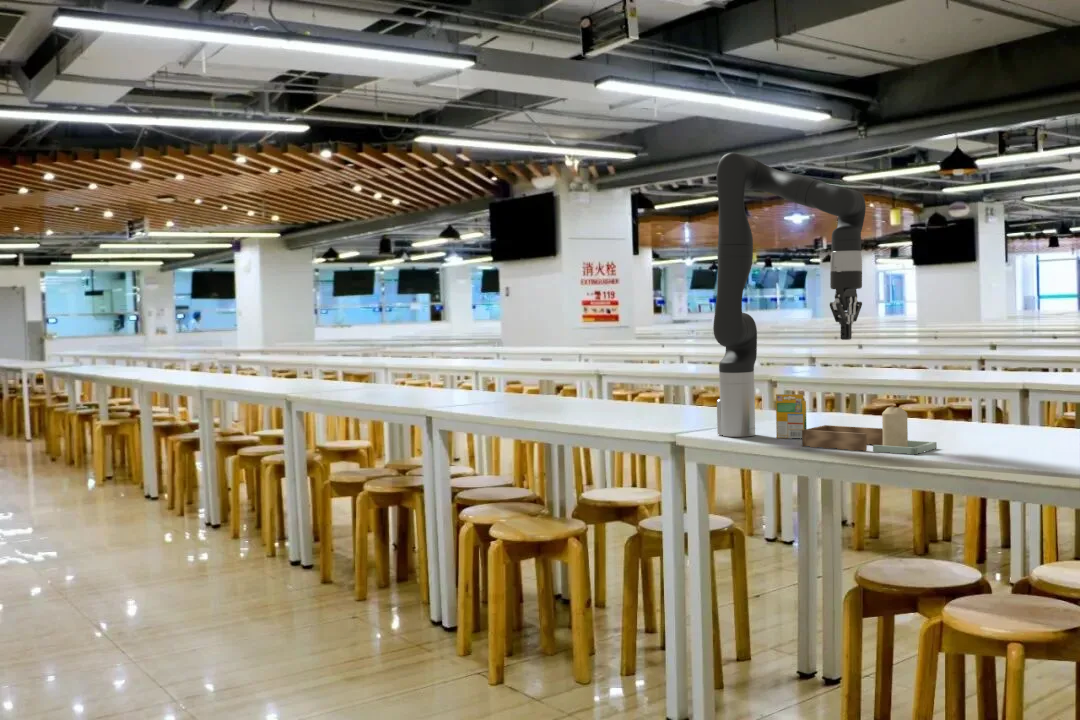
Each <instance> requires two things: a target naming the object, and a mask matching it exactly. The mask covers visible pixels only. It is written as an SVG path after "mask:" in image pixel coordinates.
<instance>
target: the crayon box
mask: <svg viewBox="0 0 1080 720" xmlns="http://www.w3.org/2000/svg"><path fill="white" fill-rule="evenodd" d="M788 397H791V398H793V399H788ZM794 398H795V399H794ZM775 420H776V421H775V422H776V429H775V430H776V439H792V438H800V440H802V439H801V438H802V430H805V429H808V428H807V401H806V400H804V394H798V393H797V394H796V393H795V394H794V393H793V394H792V393H791V394H790V393H789V394H786V393H785V394H783V393H781V394H780V393H779V394H777V393H776V394H775Z"/></svg>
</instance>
